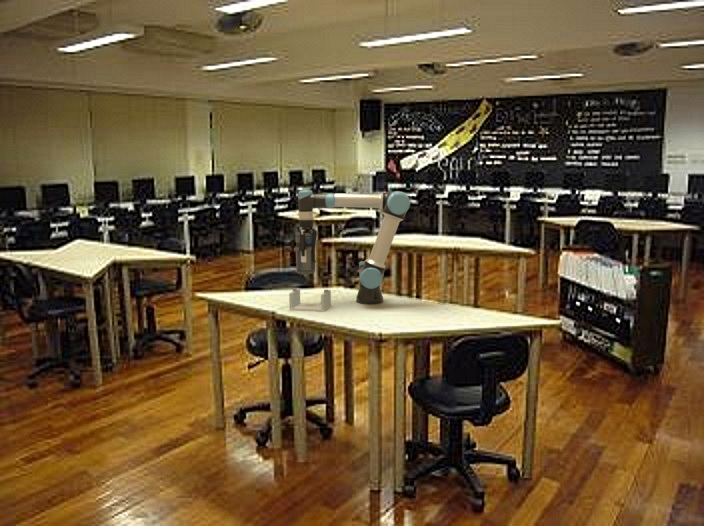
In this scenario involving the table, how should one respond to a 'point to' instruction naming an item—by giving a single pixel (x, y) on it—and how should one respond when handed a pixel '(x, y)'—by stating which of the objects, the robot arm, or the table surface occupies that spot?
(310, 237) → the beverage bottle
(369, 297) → the robot arm
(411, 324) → the table surface
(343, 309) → the table surface
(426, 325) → the table surface
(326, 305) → the holder
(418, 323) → the table surface
